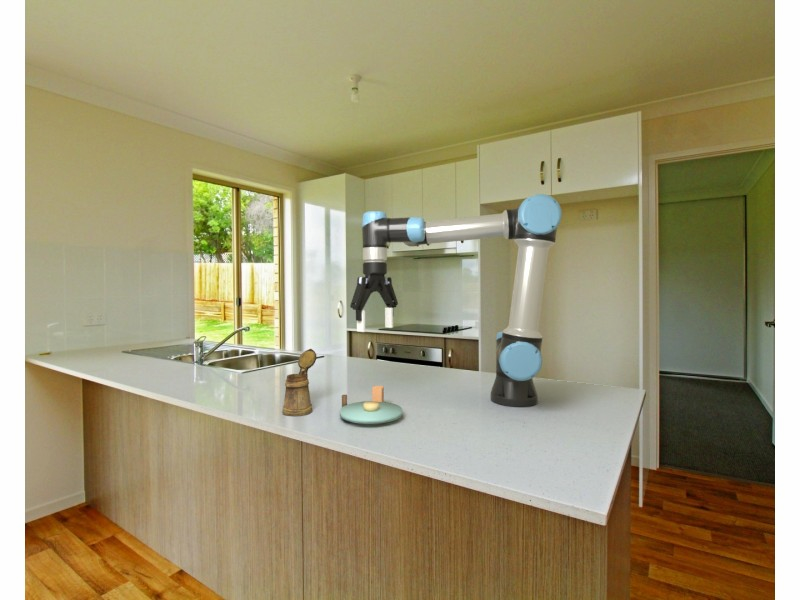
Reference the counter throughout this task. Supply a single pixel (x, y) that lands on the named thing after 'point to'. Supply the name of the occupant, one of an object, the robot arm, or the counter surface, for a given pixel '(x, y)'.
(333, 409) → the counter surface
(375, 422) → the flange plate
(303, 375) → the wooden mug
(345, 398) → the dowel
